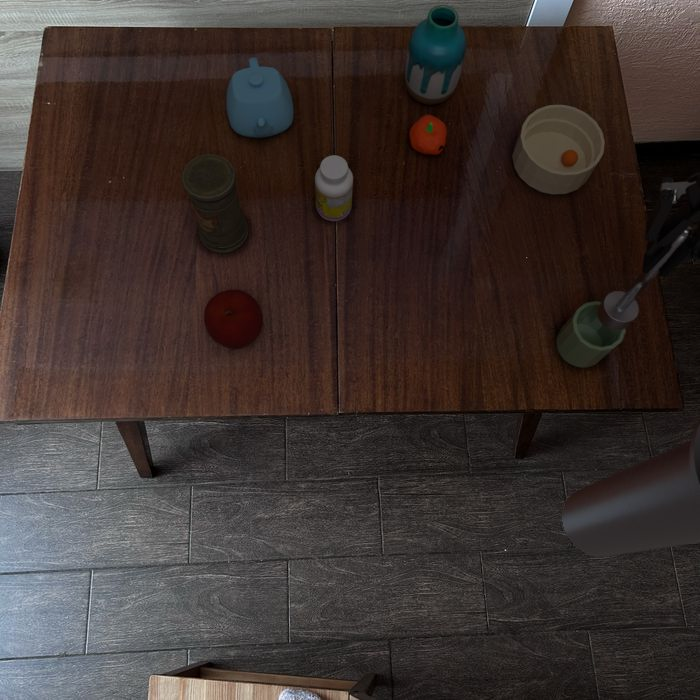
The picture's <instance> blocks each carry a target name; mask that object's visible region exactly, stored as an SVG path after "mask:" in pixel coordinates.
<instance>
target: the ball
mask: <svg viewBox="0 0 700 700" xmlns="http://www.w3.org/2000/svg"><path fill="white" fill-rule="evenodd" d="M561 160H562V163H563V164H564V165H566V166H573V165H574V164H576V162H577V160H578V154H577V153H576V152H575V151H574V150H567V151H565V152H564V153H563V155H562V158H561Z"/></svg>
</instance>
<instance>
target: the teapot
mask: <svg viewBox="0 0 700 700" xmlns="http://www.w3.org/2000/svg"><path fill="white" fill-rule="evenodd" d="M248 66H249V67H246V68H242V69H239V70H237V71H236V72H234V73H233V75H232V77H231V78H230V80H229V83H228V85H227V90H226V103H225V105H226V113H227V118H228V122H229V124H230V127H231V129H232V130H233V131H234V132H235V133H237V134H238V135H240V136H243V137H247V138H252V139H253V138H255V139H260V138H268V137H272V136H273V137H274V136H276V135H280V134H281V133H283V132H285V131H287V130H288V129H289V128H290V127H291V125H292V124H293V121H294V113H295V112H294V103H293V97H292V94H291V90H290V88H289V86H288V83H287V81H286V80H285V78H284V76H283V75H282V74H281V73H280V72H279V71H278V70H277V69H276V68H274V67H272V66H270V67H269V66H260V65H259V60H258V58H257V57H255V56H253V57H250V58H248Z"/></svg>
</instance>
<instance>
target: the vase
mask: <svg viewBox="0 0 700 700" xmlns="http://www.w3.org/2000/svg"><path fill="white" fill-rule="evenodd" d="M466 39H467V37H466V34H465V31H464V30H463V28H462V27H461V25H460V24H459V14H458V12H457V10H456V9H455V8H453V7H452V6H450V5H447V4H439V5H435V6H433V7H432V8H431V9H430V10H429V11H428V14H427V17H426V19H425V18H424V19H423V20H422V21H420V22H419V23H418V24H417V25H416V26H415V27H414V30H413V31H412V33H411V37H410V39H409V42H408V47H407V54H406V59H405V70H404V80H405V86H406V89H407V92H408V93H409V95H410V97H411V98H413V99H414V100H415V101H416V102H418V103H420V104H423V105H428V106H433V105H434V106H435V105H439V104H442V103H444V102H445V101H447V100H448V99H449V98H450V97H451V96H453V94H454V92H455V91H456V88H457V86H458V83H459V81H460V78H461V74H462V71H463V66H464V63H465V57H466V52H467V40H466Z"/></svg>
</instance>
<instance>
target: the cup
mask: <svg viewBox="0 0 700 700" xmlns="http://www.w3.org/2000/svg"><path fill="white" fill-rule="evenodd" d="M601 302H602V301H598V300H595V301H590V302H585V303H584V304H582V305H581V306H580V307H578V308H577V309H576V310H575V312H574V313H572V315H571V316H570V317H569V318H568V319H567V321H566V322H564V324H563V325H562V326H561V328H560V330H559V332H558V333H557V336H556V342H555V343H556V349H557V352H558V353H559V355H560V357H561V358H562V359H563V360H564V361H565V362H566V363H567V364H569V365H570V366H574V367H575V368H591V367H593V366H596V365H597V364H598V363H599V362H601V361H602V360H603V359H604V358H605V357H606V356H608V355H609V354H610V353H611V352H612V351H613V350H614V349H615V348H617V346H619V345H620V344H621V343H622V342H623V340H624V338H625V334H626V332H627V331H626V328H625V329H622V330H612V329H609V328H607V327H605V326H604V325H603V324H602V323H601V322H600V320H599V319H598V316H597V309H598V307H599V305H600V304H601Z"/></svg>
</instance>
